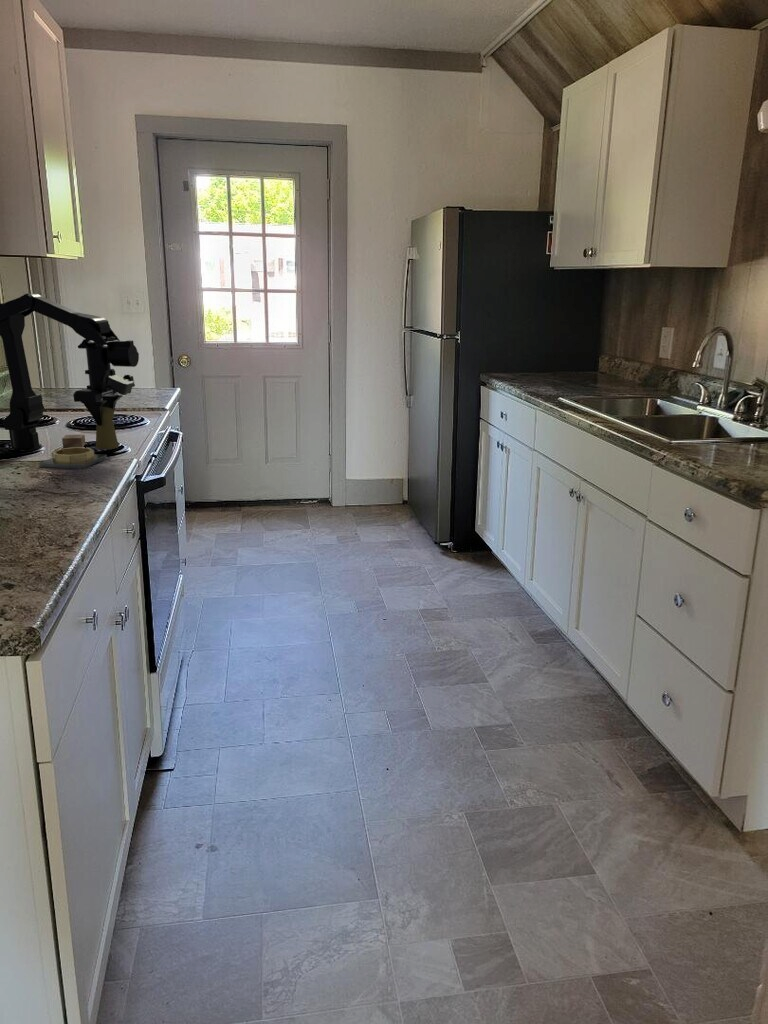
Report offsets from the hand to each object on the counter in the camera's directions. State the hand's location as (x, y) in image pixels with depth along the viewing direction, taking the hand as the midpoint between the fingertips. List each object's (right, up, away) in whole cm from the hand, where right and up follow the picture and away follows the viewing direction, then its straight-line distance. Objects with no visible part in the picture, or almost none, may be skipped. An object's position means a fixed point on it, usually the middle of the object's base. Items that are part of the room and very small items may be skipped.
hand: (104, 423), depth 208 cm
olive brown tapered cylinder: (0, -6, +2) cm, 7 cm away
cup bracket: (-5, -11, -8) cm, 15 cm away
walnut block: (-11, -7, +6) cm, 14 cm away
